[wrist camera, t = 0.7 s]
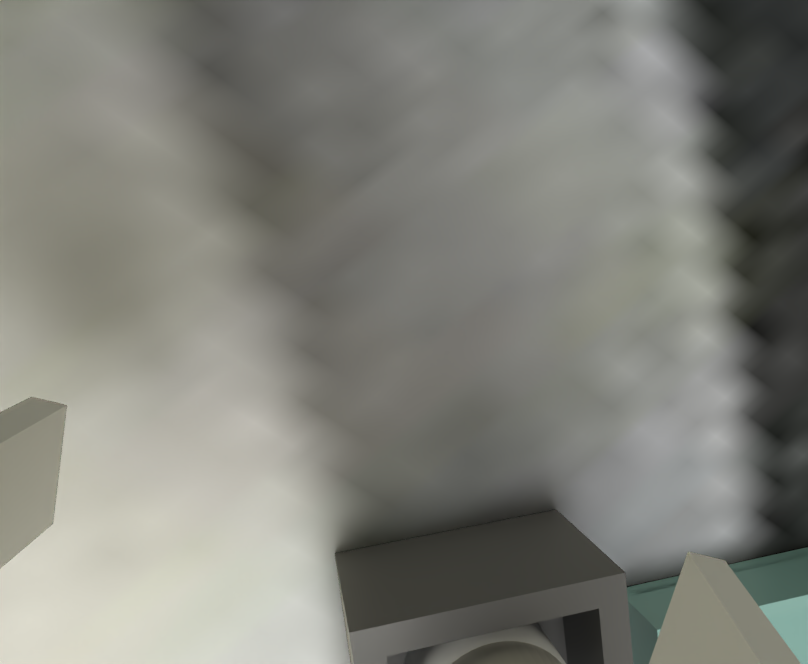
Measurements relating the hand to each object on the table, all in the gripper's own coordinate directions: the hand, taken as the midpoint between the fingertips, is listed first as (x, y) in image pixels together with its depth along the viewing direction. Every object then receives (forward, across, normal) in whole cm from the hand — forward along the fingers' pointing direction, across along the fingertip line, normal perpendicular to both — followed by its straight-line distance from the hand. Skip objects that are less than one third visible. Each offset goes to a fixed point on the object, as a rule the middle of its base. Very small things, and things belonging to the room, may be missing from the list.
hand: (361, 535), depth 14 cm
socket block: (+9, +4, -8) cm, 13 cm away
